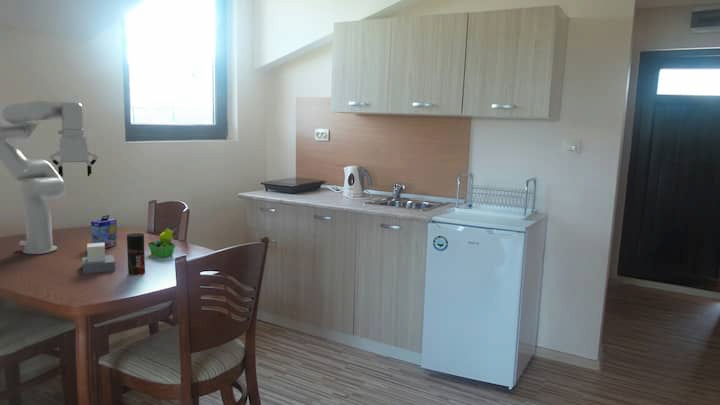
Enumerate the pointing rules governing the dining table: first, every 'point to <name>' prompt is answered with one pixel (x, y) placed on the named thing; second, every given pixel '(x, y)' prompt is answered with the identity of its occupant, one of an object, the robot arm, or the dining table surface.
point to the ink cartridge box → (104, 231)
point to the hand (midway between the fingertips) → (75, 176)
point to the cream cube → (96, 252)
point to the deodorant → (136, 254)
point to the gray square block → (98, 265)
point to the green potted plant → (163, 245)
